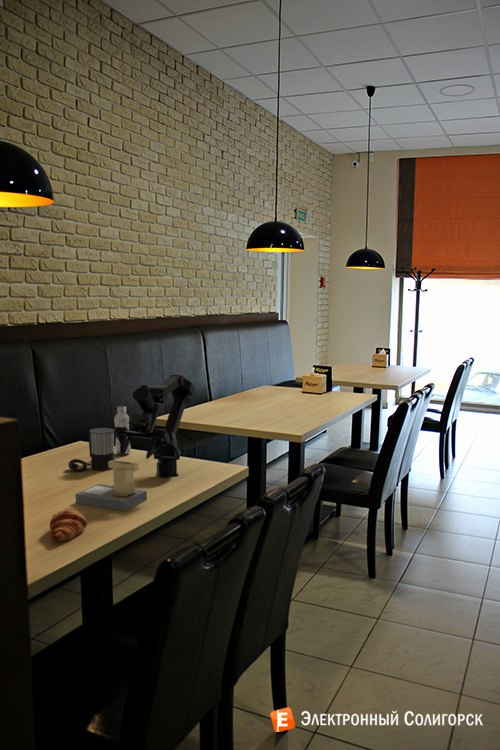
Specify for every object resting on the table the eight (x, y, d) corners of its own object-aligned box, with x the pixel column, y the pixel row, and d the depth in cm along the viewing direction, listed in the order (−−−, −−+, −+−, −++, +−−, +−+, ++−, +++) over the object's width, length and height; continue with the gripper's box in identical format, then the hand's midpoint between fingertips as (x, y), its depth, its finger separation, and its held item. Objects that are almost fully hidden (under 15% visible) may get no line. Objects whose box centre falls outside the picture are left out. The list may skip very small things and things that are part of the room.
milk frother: (120, 466, 250) (119, 429, 248) (90, 476, 237) (88, 437, 235) (94, 461, 258) (93, 425, 256) (63, 471, 245) (62, 432, 243)
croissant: (68, 530, 193) (55, 507, 193) (98, 514, 193) (84, 491, 192) (48, 557, 172) (33, 531, 172) (81, 539, 172) (66, 514, 171)
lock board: (146, 499, 210) (146, 490, 210) (124, 511, 199) (124, 501, 199) (99, 492, 218) (99, 483, 217) (75, 503, 207) (75, 493, 207)
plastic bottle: (117, 456, 265) (116, 408, 262) (113, 453, 271) (111, 406, 268) (132, 455, 268) (131, 407, 265) (128, 451, 274) (126, 405, 271)
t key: (115, 499, 210) (114, 459, 209) (141, 503, 206) (140, 462, 205) (107, 503, 207) (106, 462, 205) (133, 507, 202) (132, 465, 201)
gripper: (114, 402, 218) (99, 442, 208) (166, 405, 212) (152, 446, 203) (126, 421, 226) (111, 460, 217) (175, 424, 221) (163, 464, 212)
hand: (134, 457), depth 212 cm, fingers open, 9 cm apart
